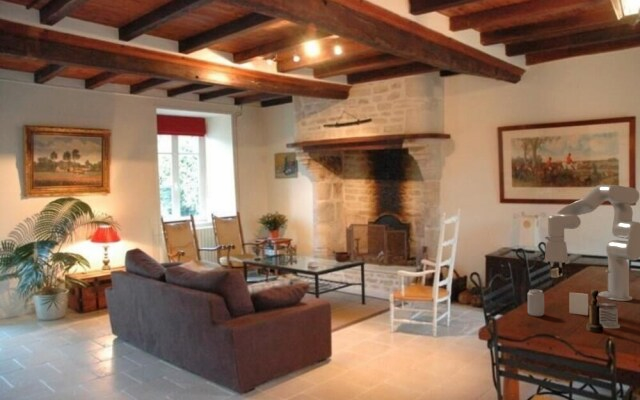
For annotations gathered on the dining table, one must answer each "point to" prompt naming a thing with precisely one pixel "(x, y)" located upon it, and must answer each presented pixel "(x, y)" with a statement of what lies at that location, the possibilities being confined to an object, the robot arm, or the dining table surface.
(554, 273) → the cream wooden plank
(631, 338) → the dining table surface
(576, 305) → the tile
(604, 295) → the french press
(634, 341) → the dining table surface
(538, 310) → the can
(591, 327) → the pepper mill
